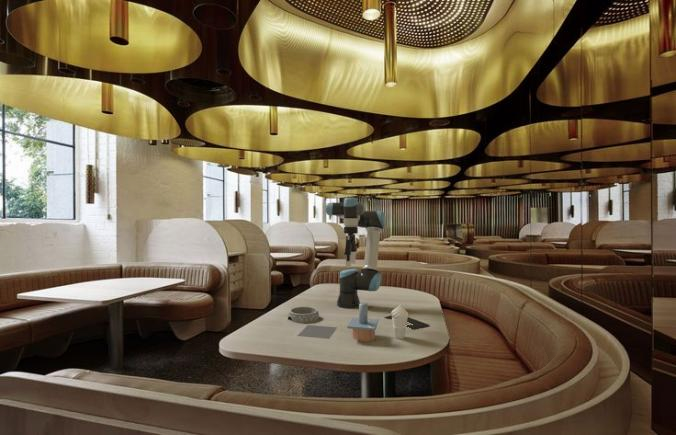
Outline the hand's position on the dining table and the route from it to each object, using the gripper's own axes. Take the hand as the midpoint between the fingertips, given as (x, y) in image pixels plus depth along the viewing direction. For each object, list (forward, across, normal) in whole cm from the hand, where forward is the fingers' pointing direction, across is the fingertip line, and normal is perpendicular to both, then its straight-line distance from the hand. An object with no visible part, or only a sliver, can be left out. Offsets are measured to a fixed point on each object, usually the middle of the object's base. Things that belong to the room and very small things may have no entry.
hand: (350, 265), depth 176 cm
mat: (+31, +18, -13) cm, 39 cm away
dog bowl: (+32, -1, -27) cm, 42 cm away
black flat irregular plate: (+32, -9, +28) cm, 44 cm away
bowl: (+31, +19, +10) cm, 38 cm away
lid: (+25, +19, +10) cm, 33 cm away
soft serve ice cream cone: (+32, +15, +27) cm, 44 cm away
